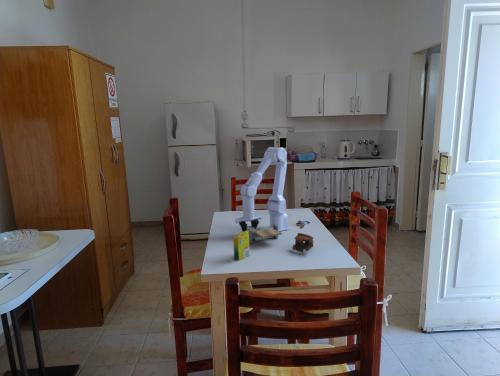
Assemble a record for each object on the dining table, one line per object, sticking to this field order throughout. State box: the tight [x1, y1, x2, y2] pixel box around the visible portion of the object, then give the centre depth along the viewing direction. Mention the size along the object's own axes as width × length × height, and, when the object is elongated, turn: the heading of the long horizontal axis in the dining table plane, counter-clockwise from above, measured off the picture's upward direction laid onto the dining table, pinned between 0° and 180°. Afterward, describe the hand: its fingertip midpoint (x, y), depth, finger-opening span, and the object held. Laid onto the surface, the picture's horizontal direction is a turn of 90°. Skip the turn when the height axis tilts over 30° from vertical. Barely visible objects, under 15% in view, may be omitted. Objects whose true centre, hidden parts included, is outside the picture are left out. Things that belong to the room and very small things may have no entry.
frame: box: [249, 225, 279, 246], centre depth 163 cm, size 16×6×7 cm, turn 118°
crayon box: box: [232, 230, 250, 261], centre depth 142 cm, size 7×3×12 cm, turn 140°
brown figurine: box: [292, 232, 314, 253], centre depth 149 cm, size 12×9×8 cm
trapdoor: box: [250, 226, 282, 238], centre depth 160 cm, size 12×14×3 cm
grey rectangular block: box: [247, 225, 255, 238], centre depth 168 cm, size 4×4×6 cm
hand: (249, 234), depth 168 cm, fingers open, 4 cm apart
